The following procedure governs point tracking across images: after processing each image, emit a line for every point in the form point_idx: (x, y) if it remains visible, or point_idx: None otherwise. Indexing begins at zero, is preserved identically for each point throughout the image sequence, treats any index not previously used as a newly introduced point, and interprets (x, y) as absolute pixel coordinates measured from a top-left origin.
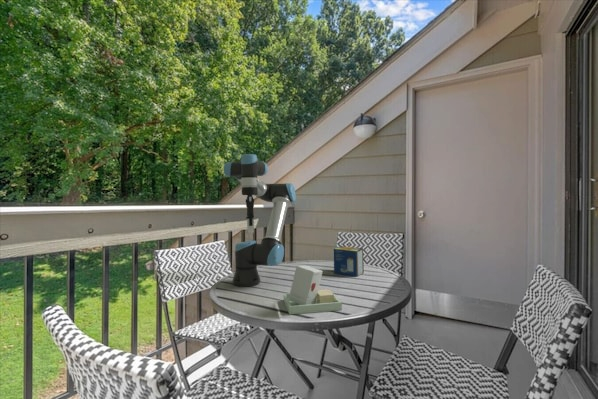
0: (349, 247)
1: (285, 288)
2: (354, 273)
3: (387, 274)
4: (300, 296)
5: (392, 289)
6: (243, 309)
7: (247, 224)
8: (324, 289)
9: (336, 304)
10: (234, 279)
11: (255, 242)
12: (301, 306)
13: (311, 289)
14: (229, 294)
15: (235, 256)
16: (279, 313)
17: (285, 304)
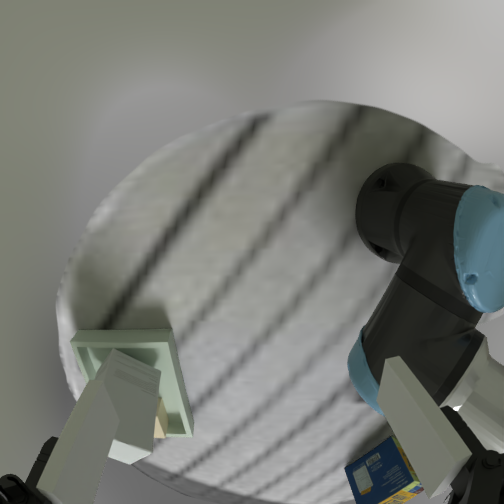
0: (404, 500)
1: (305, 338)
2: (349, 471)
3: (337, 499)
4: (96, 378)
5: (241, 497)
6: (124, 216)
7: (410, 397)
8: (162, 431)
9: None
10: (391, 170)
11: (479, 310)
12: (79, 365)
13: None
14: (279, 154)
15: (458, 185)
16: (96, 311)
17: (133, 333)
